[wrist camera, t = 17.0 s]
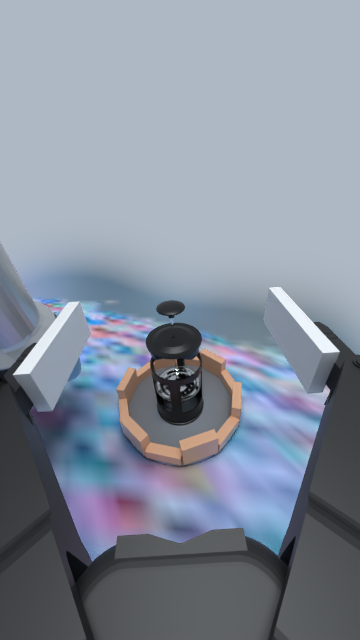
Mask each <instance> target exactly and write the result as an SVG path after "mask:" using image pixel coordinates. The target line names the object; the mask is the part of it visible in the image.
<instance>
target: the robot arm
mask: <svg viewBox="0 0 360 640" xmlns="http://www.w3.org/2000/svg"><path fill="white" fill-rule="evenodd" d="M263 321H264V323H265V324H266V326H267V328H268V329H269V331H270V333H271V334H272V336H273V338H274V339H275V341H276V343H277V344H278V346H279V348H280V349H281V351H282V352H283V354H284V356H285V357H286V359H287V361H288V362H289V364H290V366H291V367H292V369H293V371H294V372H295V374H296V375H297V377H298V379H299V380H300V382H301V384H302V385H303V387H304V389H305V390H306V392H307V393H320V392H323V390H324V388H325V385H327V386H328V388H329V389H330V390H331V391H330V393H329V395H328V397H327V400H326V402H325V404H324V405H325V409H324V412H323V415H322V419H321V422H320V425H319V428H318V432H317V435H316V438H315V442H314V445H313V448H312V451H311V455H310V458H309V461H308V465H307V468H306V471H305V475H304V478H303V481H302V484H301V488H300V491H299V494H298V498H297V501H296V504H295V507H294V511H293V514H292V517H291V521H290V524H289V527H288V530H287V532H286V535H285V537H284V540H283V542H282V545H281V548H280V551H279V555H278V556H277V555H276V554H275V553H274V552H273V551H271V550H270V549H269V548H268V547H266V546H265V545H263V544H261V543H260V542H258V541H256V540H254V539H252V538H249V537H246V536H245V535H244V530H243V528H234V529H219V530H211V531H209V532H206V533H204V534H202V535H200V536H197V537H195V538H193V539H190V540H188V541H186V542H183V543H176V542H173V541H170V540H166V539H163V538H160V537H156V536H153V535H150V534H141V535H125V536H118V537H117V544H116V545H115V546H113V547H111V548H110V549H108V550H106V551H105V552H103V553H102V554H101V555H100V556H98V557H97V558H96V559H95V560H94V561H93V562H92V561H91V558H90V556H89V554H88V552H87V550H86V549H85V547H84V545H83V544H82V542H81V540H80V537H79V535H78V532H77V530H76V527H75V525H74V522H73V520H72V517H71V514H70V512H69V509H68V507H67V504H66V502H65V499H64V496H63V494H62V491H61V489H60V486H59V484H58V481H57V478H56V476H55V473H54V471H53V468H52V466H51V463H50V460H49V458H48V455H47V453H46V450H45V448H44V445H43V442H42V440H41V437H40V435H39V432H38V430H37V427H36V424H35V422H34V419H33V417H32V415H31V413H30V412H29V411H30V410H31V408H32V406H33V405H34V407H35V408H36V410H37V411H38V412H45V411H53V409H54V407H55V405H56V403H57V401H58V399H59V397H60V395H61V393H62V391H63V389H64V387H65V385H66V383H67V382H68V381H70V380H72V379H75V378H76V377H77V376H78V375H79V374H80V372H81V363H80V358H79V356H80V354H81V352H82V350H83V348H84V346H85V344H86V342H87V340H88V338H89V336H90V334H91V333H90V330H89V327H88V324H87V322H86V319H85V316H84V313H83V310H82V307H81V305H80V302H69V303H68V304H67V305H66V306H65V308H64V309H63V310H62V312H60V313H56V312H54V313H53V312H52V311H51V310H50V309H49V308H48V307H47V306H46V305H44V304H42V303H39V302H36V301H33V300H32V298H31V296H30V294H29V293H28V291H27V289H26V287H25V285H24V284H23V282H22V280H21V278H20V276H19V275H18V273H17V271H16V269H15V268H14V266H13V264H12V262H11V260H10V259H9V257H8V255H7V253H6V252H5V250H4V248H3V246H2V244H1V243H0V640H360V355H355V354H354V353H353V352H352V351H351V350H350V349H349V348H348V347H347V346H346V345H345V344H344V343H343V342H342V341H341V340H340V339H338V337H337V336H336V335H335V334H334V333H333V332H332V331H331V330H330V329H329V328H328V327H327V326H325V325H324V324H322V323H320V322H312V321H311V320H310V319H309V318H308V317H307V316H306V315H305V313H304V312H303V311H302V310H301V309H300V308H299V307H298V306H297V305H296V304H295V303H294V302H293V300H292V299H291V298H290V297H289V296H288V295H287V294H286V293H285V292H284V291H283V290H282V289H281V288H280V287H277V288H276V287H275V288H269V291H268V297H267V303H266V309H265V314H264V320H263Z"/></svg>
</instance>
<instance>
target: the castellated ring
mask: <svg viewBox="0 0 360 640" xmlns="http://www.w3.org/2000/svg"><path fill="white" fill-rule="evenodd" d="M200 355H201V358H202V397H203V402H204V406H203V411H202V413H201V415H200V416H199V417H198V418H197V419H196V420H195V421H194V422H192V423H190V424H187V425H182V426H177V425H172V424H169V423H167V422H165V421H164V420H163V419H162V418H161V417H160V415H159V413H158V410H157V399H156V393H155V388H154V383H153V378H152V372H151V367H150V362H148V363H147V364H146V365H144V366H143V367H142V368H140V369H139V370H137V371H136V369H135V368H128V370H127V371H126V373H125V375H124V377H123V379H122V380H121V382H120V384H119V386H118V387H117V389H116V390H117V393H118V396H119V410H120V419H119V422H120V424H121V427H122V430H123V433H124V434H125V436H126V437H127V438H128V439H129V440H130V442H131V443H132V445H133V446H134V447H135V448H136V449H137V450H138V451H139V452H140V453H141V454H143V455H144V456H145V457H147V458H149V459H151V460H153V461H155V462H158V463H161V464H164V465H171V466H186V465H193V464H196V463H200V462H202V461H205V460H207V459H209V458H211V457H212V456H214V455H215V454H217V453H218V452H219V451H221V450H222V449H223V448H224V447H225V446H226V445H227V443H228V442H229V441H230V439H231V438H232V436H233V434H234V432H235V430H236V429H237V428H238V426H239V422H240V415H241V391H242V383H241V382H235V381H234V380H233V378H232V377H231V375H230V374H229V372H228V370H227V369H225V365H226V360H225V359H224V358H222V357H220V356H218V355H216V354H214V353H212V352H210V351H208V350H206V349H205V348H204V349H203V350H202V351H200ZM184 361H185V367H188V368H191V369H192V370H194V371H195V372H196V371H197V370H198V368H199V367H200V360H199V359H198V357H197V356H196V357H195V358H194V359H192V360H187V359H184ZM171 367H175V359H160V360H155V361H154V368H155V373H156V374H157V375H158V376H159V375H160V374H161V373H162V372H163V371H165V370H166V369H168V368H171ZM199 377H200V380H201V373H200V374H199ZM196 405H197V399H196V397H195V396H194V397H193V398H192V399H190V400H188V401H186V402H183V403H182V412H183V413H184V412H187V411H190V410H192V409H193V408H194V407H196ZM163 407H164V409H165V410H167V411H169V412H172V413H173V411H172V404H171V402H168V401H166V400H164V402H163Z"/></svg>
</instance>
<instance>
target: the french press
mask: <svg viewBox="0 0 360 640" xmlns="http://www.w3.org/2000/svg"><path fill="white" fill-rule="evenodd" d="M156 309H157V312H158V313H159V314H161V315H166V316H168V317H169V318H170V319H171V323H169V324H165V325H161V326H159V327H157V328H155V329H154V330H152V331H151V332H150V333H149V335H148V336H147V338H146V346H147V349H148V351H149V352H150V353H151V356H152V358H151V360H150V367H151V372H152V378H153V383H154V388H155V393H156V399H157V410H158V413H159V415H160V417H161V418H162V419H163V420H164V421H165V422H167V423H169V424H172V425H177V426H182V425H187V424H190V423H192V422H194V421H195V420H196V419H197V418H198V417H199V416H200V415H201V413H202V411H203V406H204V402H203V397H202V358H201V355H200V353H199V347H200V345H201V341H202V337H201V334H200V332H199V331H198V330H197V329H196V328H195V327H193V326H191V325H188V324H184V323H173V318H174V315H177V314H179V313H181V312H182V311H183V310H184V309H185V306H184V304H183V303H182V302H179V301H174V300H172V301H165V302H162V303H161V304H159V305H158V306H157V308H156ZM196 356H197V357H198V359H199V360H200V367H199V368H198V370H197V371H196V372H195V371H194V370H192V369H191V368H188V367H185V361H184V359H187V360H192V359H194V358H195V357H196ZM160 359H175V367H171V368H168V369H166V370H165V371H163V372H162V373H161V374H160V375H159V376H158V375H157V374H156V373H155V368H154V361H155V360H160ZM200 373H201V380H200V377H199V374H200ZM194 396H195V397H196V399H197V405H196V407H194V408H193V409H192V410H190V411H187V412H184V413H183V412H182V403H183V402H186V401H188V400H190V399H192V398H193V397H194ZM164 400H166V401H168V402H171V404H172V411H173V413H172V412H169V411H167V410H165V409H164V407H163V402H164Z"/></svg>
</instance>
